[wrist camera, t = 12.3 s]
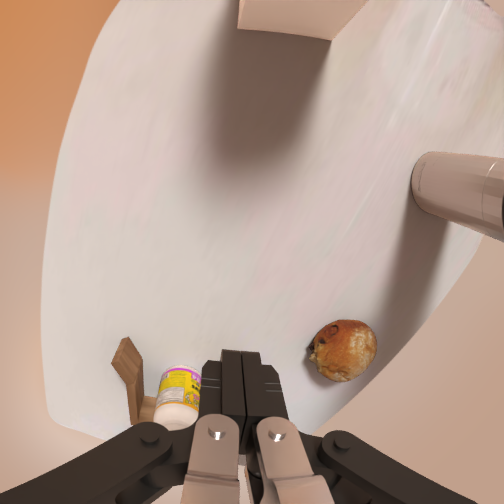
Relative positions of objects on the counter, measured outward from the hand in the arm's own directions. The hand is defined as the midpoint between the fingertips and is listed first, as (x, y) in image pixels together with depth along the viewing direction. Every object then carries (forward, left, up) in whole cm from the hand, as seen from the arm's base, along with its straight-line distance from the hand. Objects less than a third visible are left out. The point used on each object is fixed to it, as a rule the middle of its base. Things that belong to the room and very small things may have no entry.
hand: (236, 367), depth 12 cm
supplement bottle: (+3, +25, -27) cm, 37 cm away
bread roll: (-20, +16, -27) cm, 37 cm away
